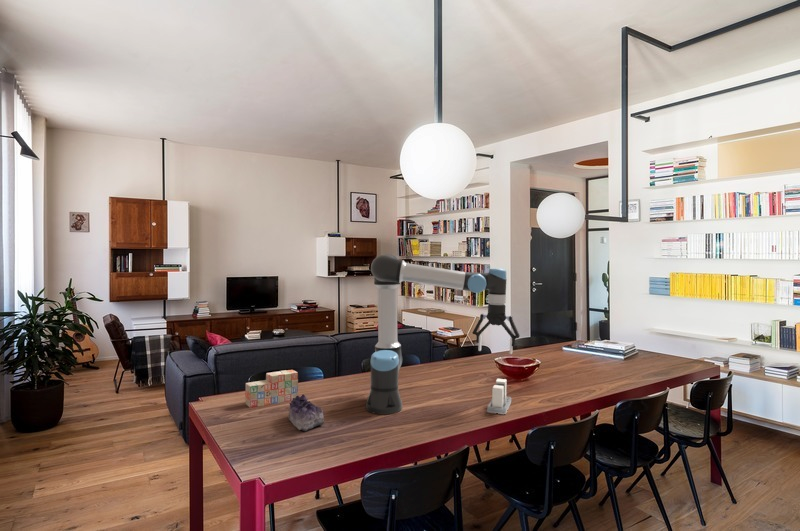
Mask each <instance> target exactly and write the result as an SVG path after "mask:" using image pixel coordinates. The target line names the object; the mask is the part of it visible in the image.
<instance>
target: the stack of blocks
mask: <svg viewBox="0 0 800 531" xmlns="http://www.w3.org/2000/svg"><path fill="white" fill-rule="evenodd" d="M298 385H299V373H298V371H296V370H294V369H288V370H286V369H285V370H279V371H272V372H266V374H265V379H264V380H258V381H251V382H245V398H244V400H245V405H246V406H248V407H249V408H250V409H251V408H256V407H263V406H268V405H272V404H273V405H274V404H279V403H284V402H289V401H290V402H291V401H292V400H293V398H296V396H299V395H298V393H299V392H298V388H299V386H298Z"/></svg>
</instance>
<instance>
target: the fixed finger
mask: <svg viewBox="0 0 800 531" xmlns="http://www.w3.org/2000/svg"><path fill="white" fill-rule="evenodd" d="M491 396H492V398H491V400H492V407H500V408H503V406H504V386H500V385H496V384H494V385H493V386H492V395H491Z"/></svg>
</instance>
